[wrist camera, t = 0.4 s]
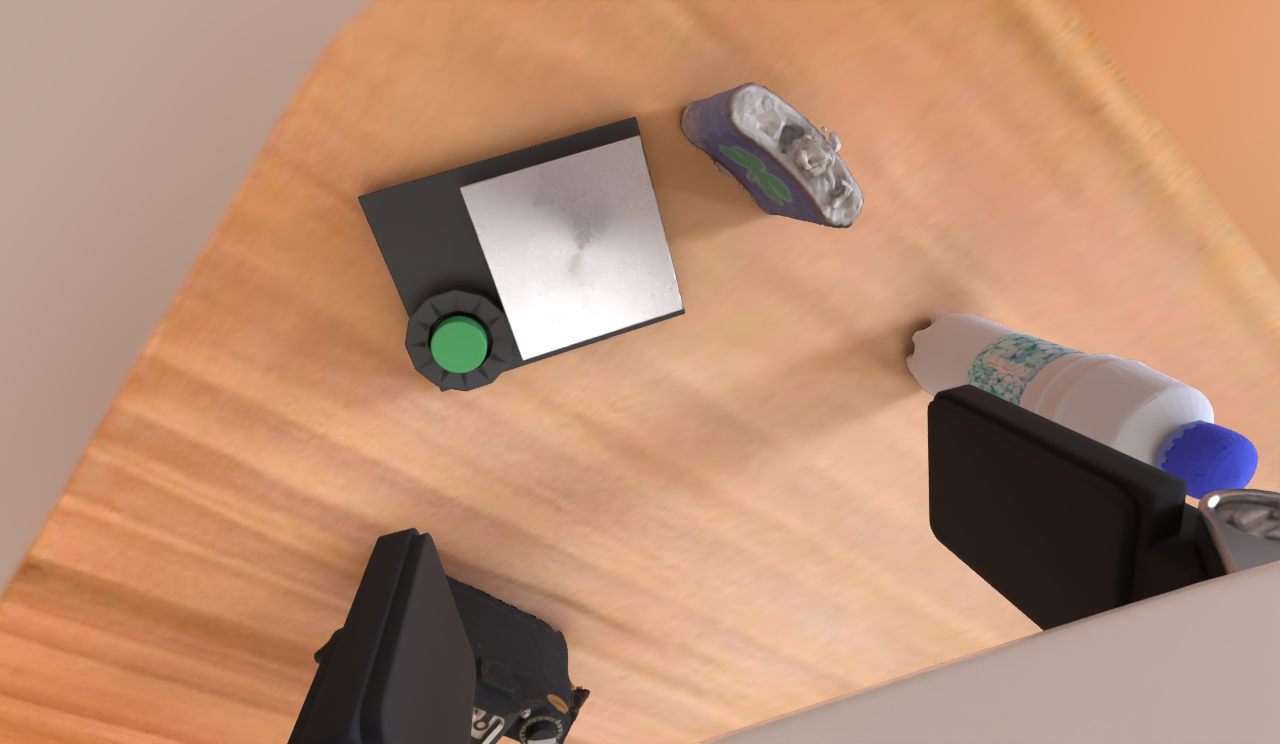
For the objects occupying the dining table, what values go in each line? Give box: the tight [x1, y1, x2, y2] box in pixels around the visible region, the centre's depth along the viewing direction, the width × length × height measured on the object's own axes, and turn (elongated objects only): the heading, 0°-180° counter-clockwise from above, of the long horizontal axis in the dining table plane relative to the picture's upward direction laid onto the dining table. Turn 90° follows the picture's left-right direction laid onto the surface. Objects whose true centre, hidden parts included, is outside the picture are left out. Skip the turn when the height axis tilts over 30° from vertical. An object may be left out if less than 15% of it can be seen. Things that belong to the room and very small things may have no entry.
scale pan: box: [460, 135, 684, 360], centre depth 34 cm, size 10×10×1 cm
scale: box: [358, 117, 685, 392], centre depth 35 cm, size 12×16×3 cm
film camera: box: [314, 575, 590, 744], centre depth 40 cm, size 18×12×10 cm
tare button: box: [431, 316, 488, 373], centre depth 34 cm, size 3×3×2 cm
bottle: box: [907, 313, 1258, 500], centre depth 35 cm, size 7×7×20 cm
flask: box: [681, 82, 864, 228], centre depth 32 cm, size 9×3×11 cm, turn 50°
